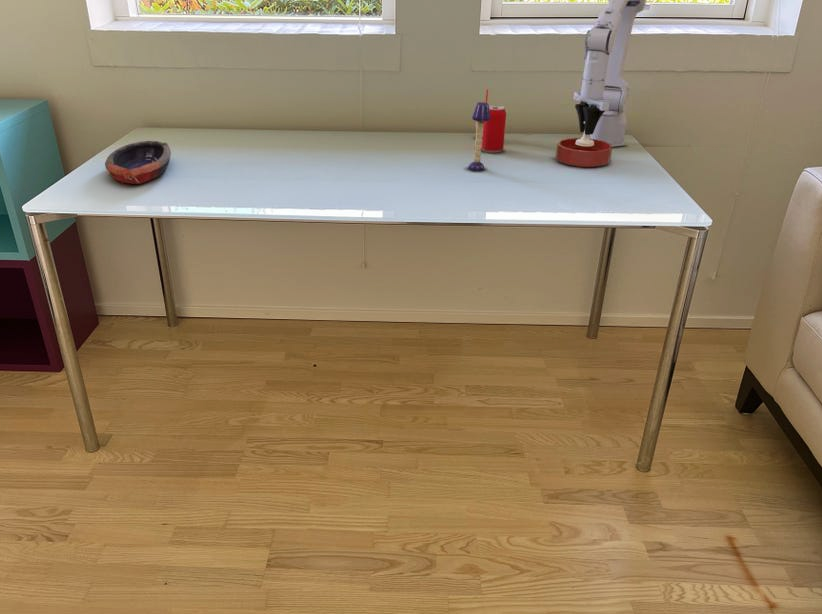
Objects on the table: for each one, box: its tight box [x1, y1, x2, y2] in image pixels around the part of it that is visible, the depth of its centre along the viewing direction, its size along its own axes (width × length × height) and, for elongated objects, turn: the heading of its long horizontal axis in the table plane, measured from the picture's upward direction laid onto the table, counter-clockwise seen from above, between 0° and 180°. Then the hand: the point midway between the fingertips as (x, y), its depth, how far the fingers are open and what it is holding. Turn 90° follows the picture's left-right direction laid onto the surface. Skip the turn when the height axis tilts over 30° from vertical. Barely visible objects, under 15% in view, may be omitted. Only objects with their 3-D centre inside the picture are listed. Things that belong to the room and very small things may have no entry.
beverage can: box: [481, 104, 507, 154], centre depth 203 cm, size 6×6×12 cm
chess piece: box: [575, 105, 594, 146], centre depth 192 cm, size 5×5×10 cm
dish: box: [104, 140, 172, 185], centre depth 186 cm, size 16×31×5 cm, turn 4°
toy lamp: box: [467, 101, 490, 172], centre depth 186 cm, size 5×5×17 cm
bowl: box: [555, 137, 613, 168], centre depth 196 cm, size 14×14×4 cm
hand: (586, 133), depth 193 cm, fingers closed on chess piece
